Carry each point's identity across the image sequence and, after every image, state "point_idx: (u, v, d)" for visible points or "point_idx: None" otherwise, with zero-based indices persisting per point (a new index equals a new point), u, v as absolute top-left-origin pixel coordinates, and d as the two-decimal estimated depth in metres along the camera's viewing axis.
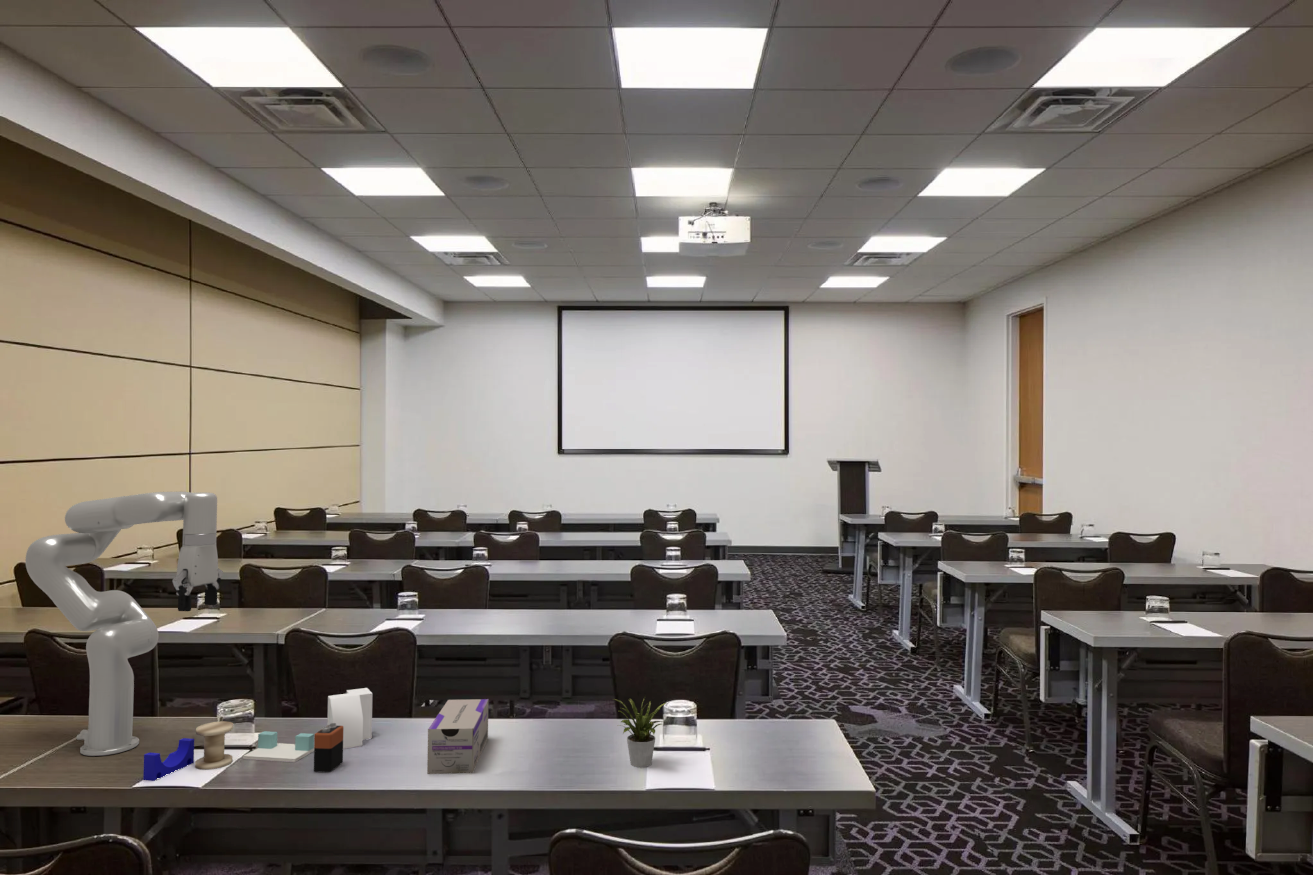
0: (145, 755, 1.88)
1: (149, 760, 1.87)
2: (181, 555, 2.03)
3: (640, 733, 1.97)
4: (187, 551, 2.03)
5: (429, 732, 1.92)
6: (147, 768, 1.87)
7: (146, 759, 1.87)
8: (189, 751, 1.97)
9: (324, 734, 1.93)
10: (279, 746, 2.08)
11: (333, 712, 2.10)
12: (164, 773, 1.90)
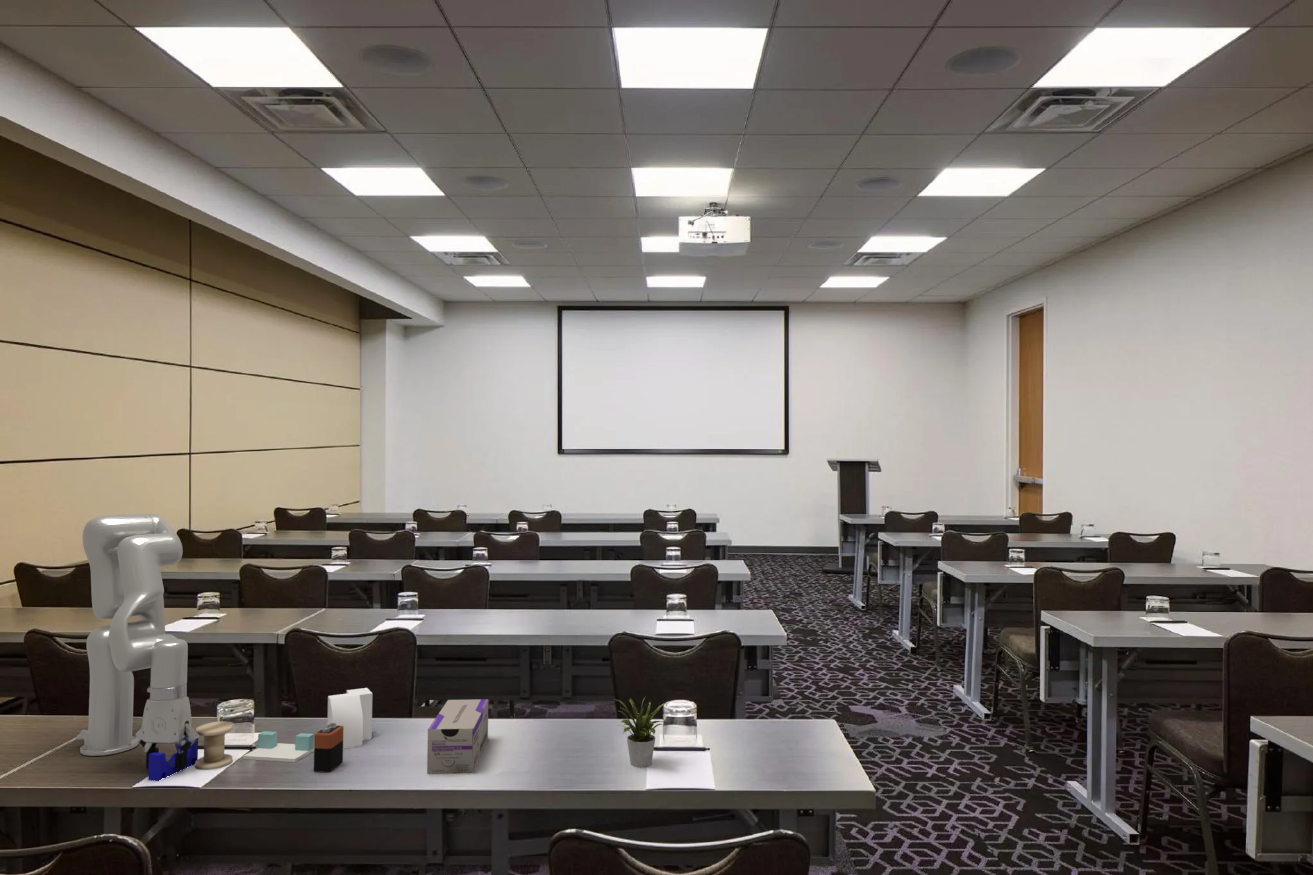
0: (150, 755, 1.88)
1: (154, 760, 1.87)
2: (181, 708, 1.92)
3: (640, 733, 1.97)
4: (185, 702, 1.93)
5: (429, 732, 1.92)
6: (152, 768, 1.87)
7: (151, 759, 1.87)
8: (193, 751, 1.97)
9: (324, 734, 1.93)
10: (279, 746, 2.08)
11: (333, 712, 2.10)
12: (169, 773, 1.90)
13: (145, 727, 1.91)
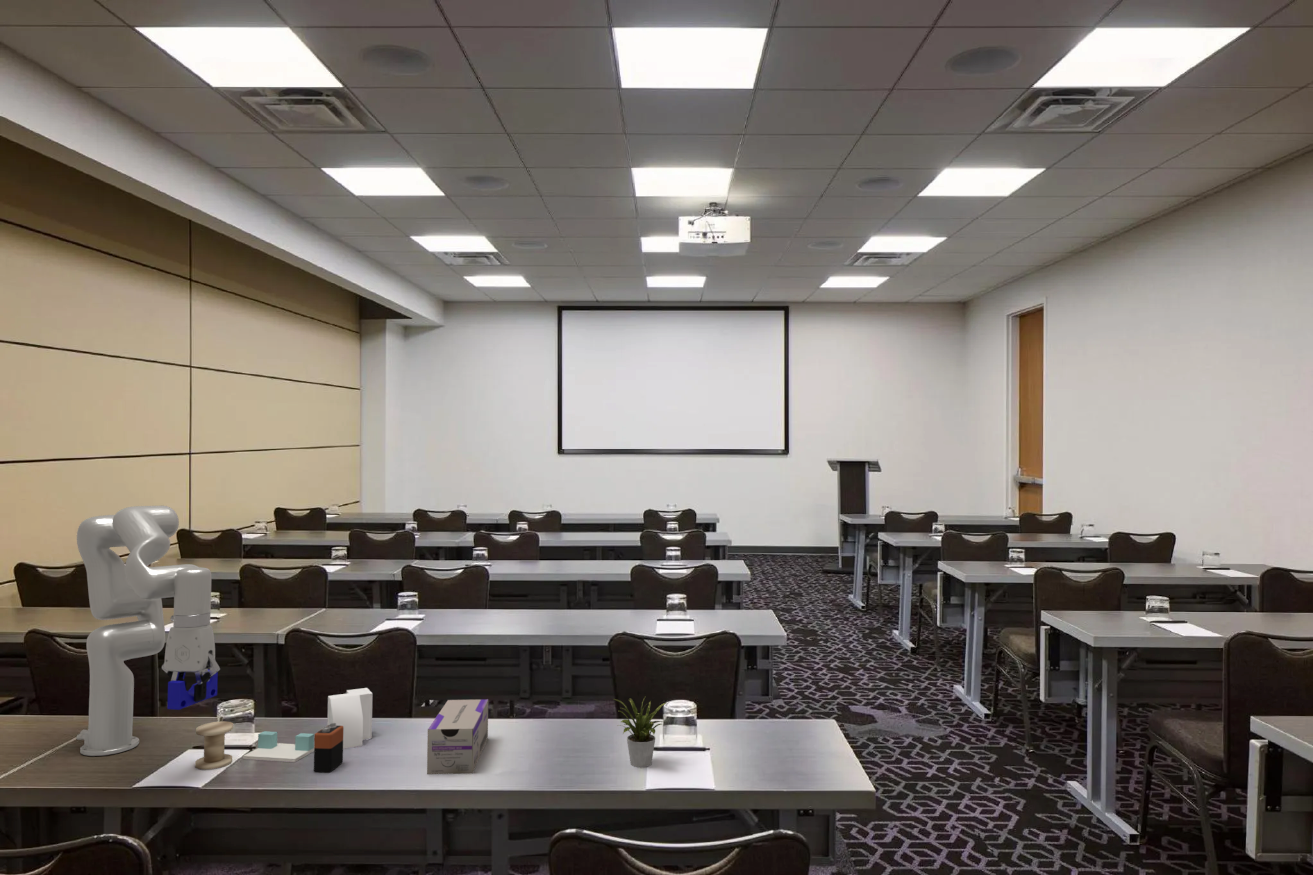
0: (169, 683, 1.83)
1: (173, 688, 1.83)
2: (205, 637, 1.87)
3: (640, 733, 1.97)
4: (209, 631, 1.89)
5: (429, 732, 1.92)
6: (171, 696, 1.83)
7: (170, 687, 1.83)
8: (213, 682, 1.93)
9: (324, 734, 1.93)
10: (279, 746, 2.08)
11: (333, 712, 2.10)
12: (188, 702, 1.86)
13: (168, 655, 1.87)
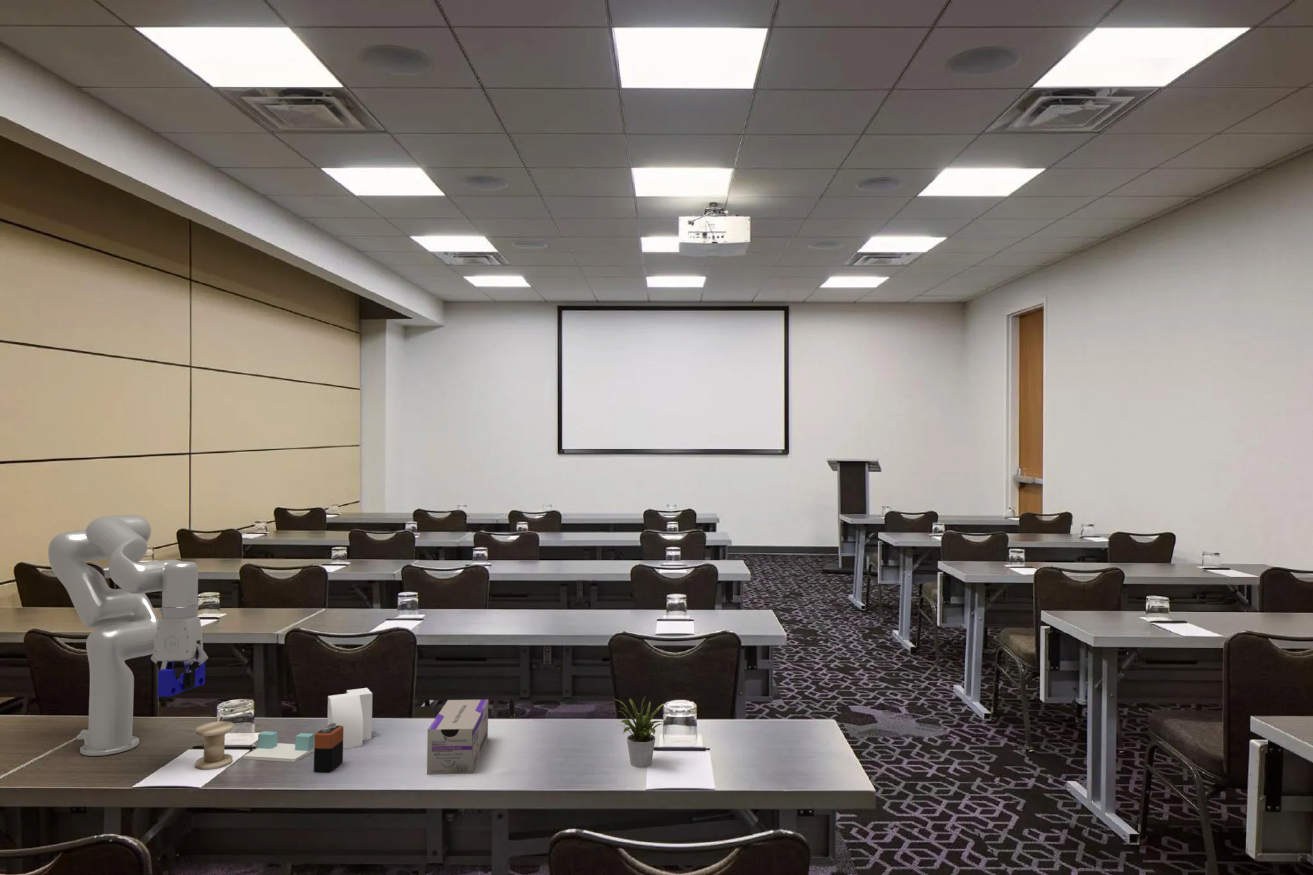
0: (159, 671, 1.92)
1: (164, 676, 1.92)
2: (193, 627, 1.96)
3: (640, 733, 1.97)
4: (197, 622, 1.98)
5: (429, 732, 1.92)
6: (162, 684, 1.92)
7: (160, 675, 1.92)
8: (200, 671, 2.02)
9: (324, 734, 1.93)
10: (279, 746, 2.08)
11: (333, 712, 2.10)
12: (178, 689, 1.94)
13: (157, 646, 1.96)
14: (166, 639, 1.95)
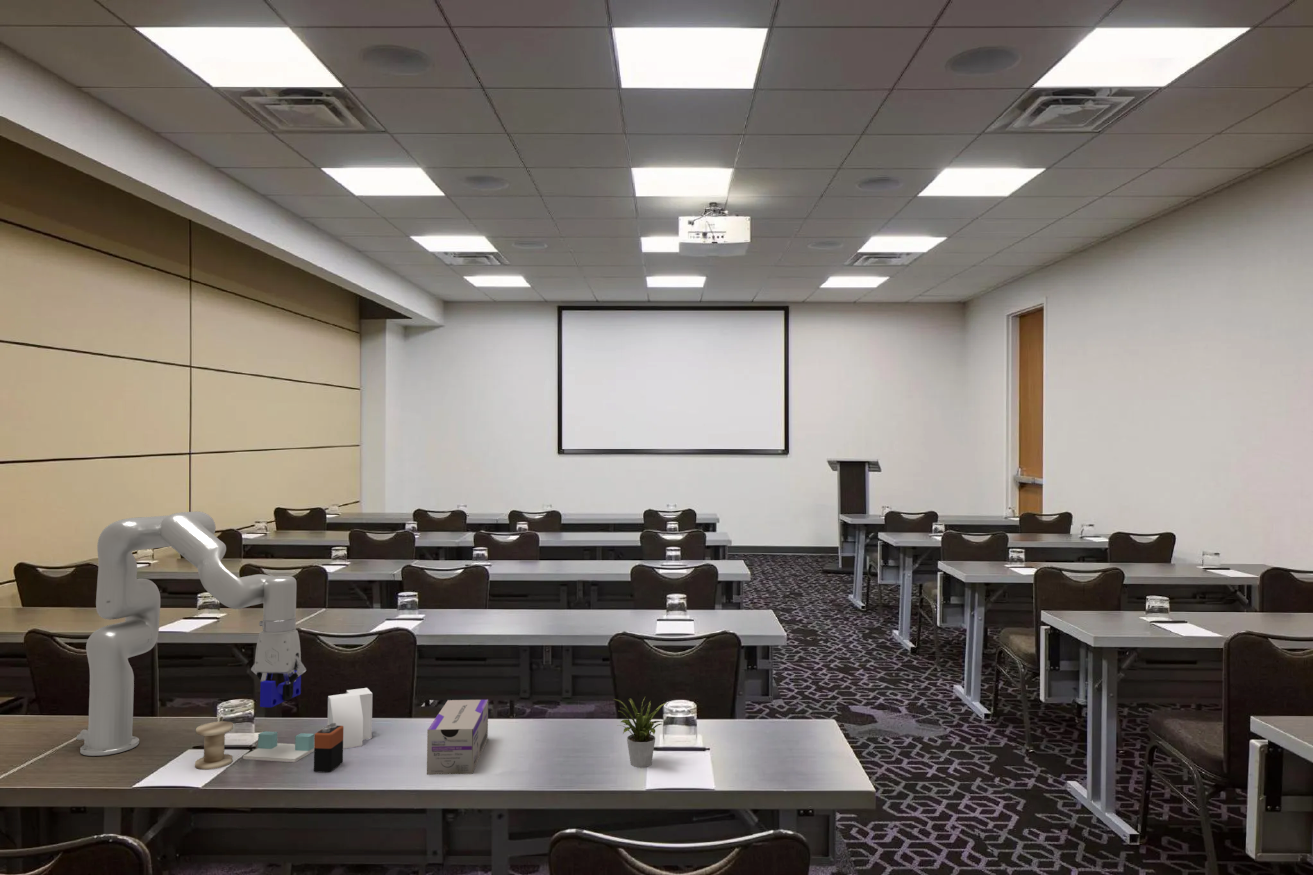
0: (262, 682, 1.98)
1: (266, 687, 1.98)
2: (293, 640, 2.02)
3: (640, 733, 1.97)
4: (296, 635, 2.04)
5: (428, 732, 1.92)
6: (264, 695, 1.98)
7: (263, 686, 1.98)
8: (297, 682, 2.08)
9: (324, 734, 1.93)
10: (279, 746, 2.08)
11: (333, 712, 2.10)
12: (278, 700, 2.01)
13: (259, 658, 2.02)
14: (267, 651, 2.02)
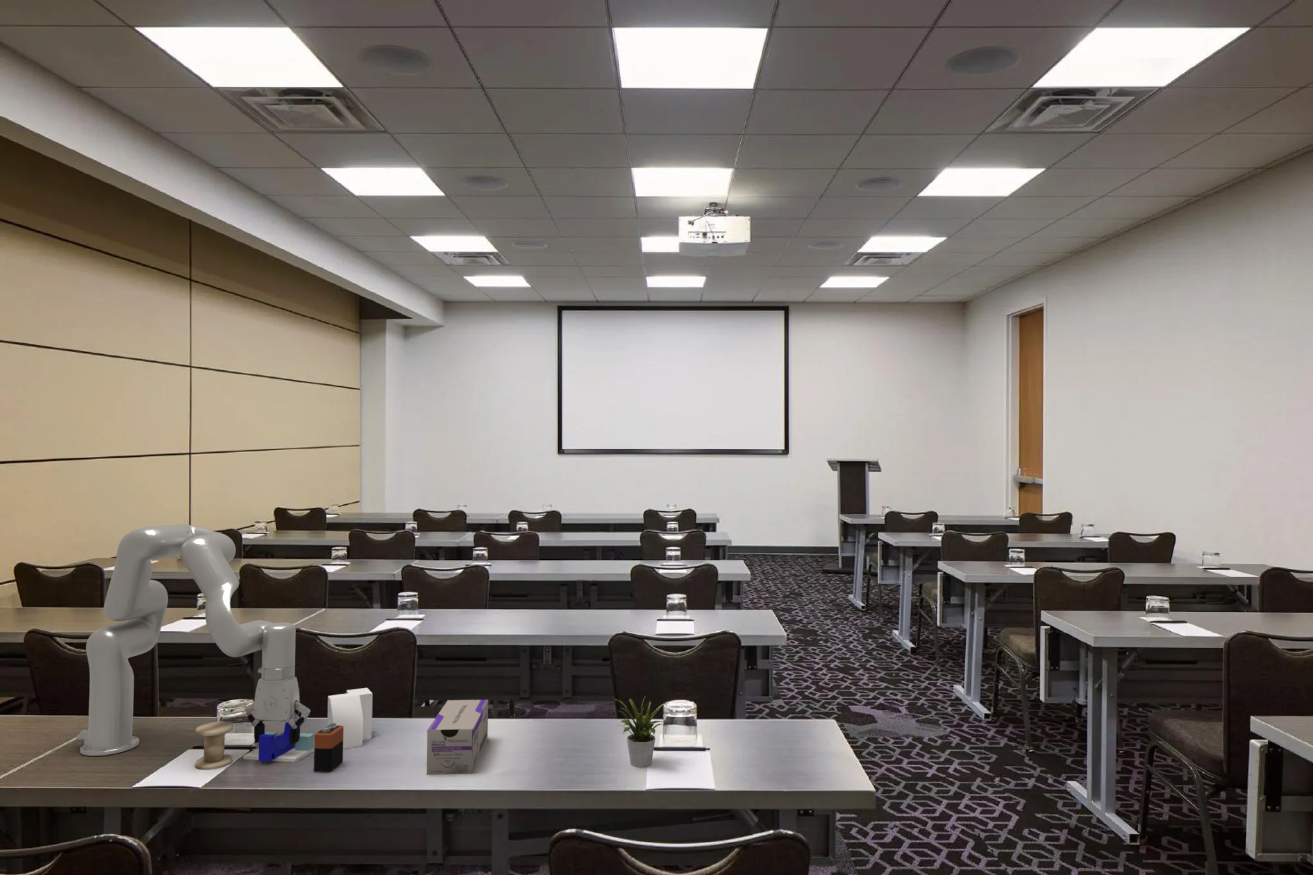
0: (260, 736, 1.98)
1: (264, 741, 1.98)
2: (292, 688, 2.02)
3: (640, 733, 1.97)
4: (295, 682, 2.03)
5: (428, 733, 1.92)
6: (262, 749, 1.98)
7: (261, 740, 1.98)
8: None
9: (324, 734, 1.93)
10: None
11: (333, 712, 2.10)
12: (277, 753, 2.00)
13: (257, 706, 2.02)
14: (266, 699, 2.01)
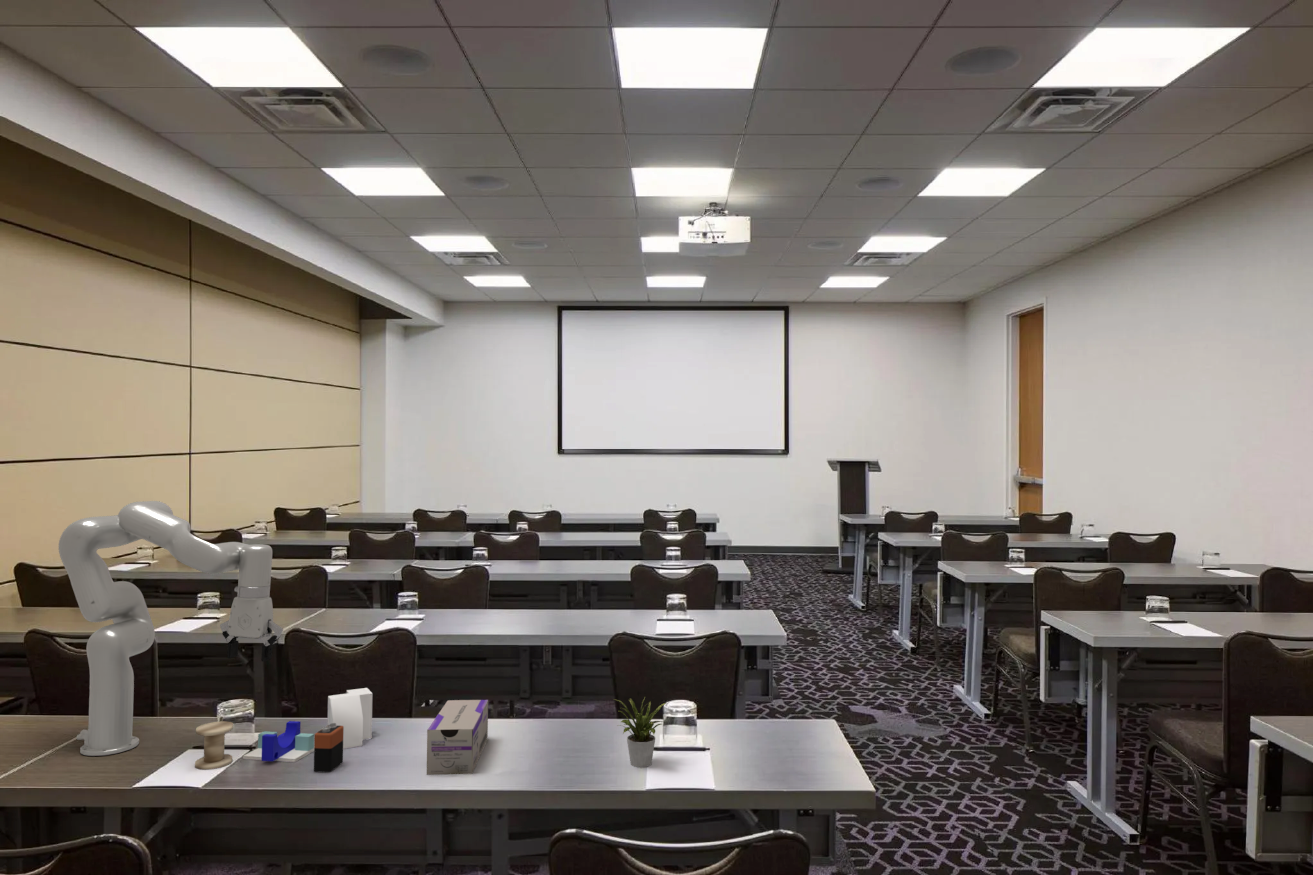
0: (263, 736, 1.98)
1: (267, 741, 1.98)
2: (266, 607, 2.08)
3: (640, 733, 1.97)
4: (269, 602, 2.09)
5: (428, 733, 1.92)
6: (265, 748, 1.98)
7: (264, 740, 1.98)
8: (297, 733, 2.08)
9: (324, 734, 1.93)
10: None
11: (333, 712, 2.10)
12: (280, 753, 2.00)
13: (232, 622, 2.08)
14: (240, 616, 2.07)
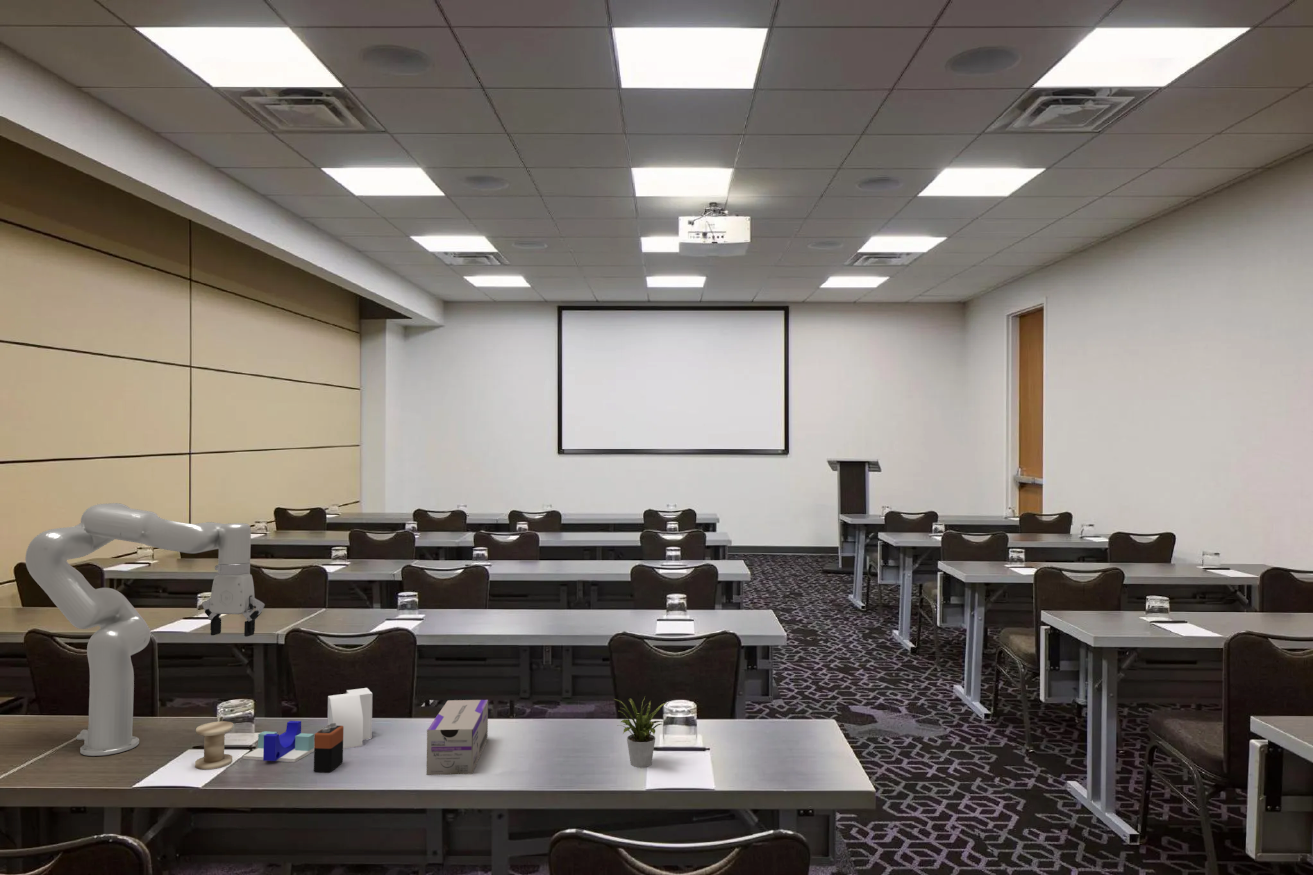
0: (265, 736, 1.98)
1: (269, 740, 1.98)
2: (246, 583, 2.12)
3: (640, 733, 1.97)
4: (250, 579, 2.14)
5: (428, 733, 1.92)
6: (267, 748, 1.98)
7: (266, 740, 1.98)
8: (298, 733, 2.08)
9: (324, 734, 1.93)
10: None
11: (333, 712, 2.10)
12: (281, 753, 2.01)
13: (214, 600, 2.12)
14: (221, 593, 2.12)
